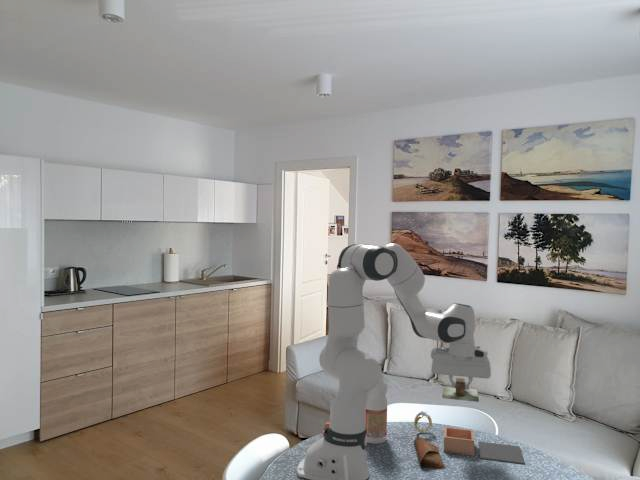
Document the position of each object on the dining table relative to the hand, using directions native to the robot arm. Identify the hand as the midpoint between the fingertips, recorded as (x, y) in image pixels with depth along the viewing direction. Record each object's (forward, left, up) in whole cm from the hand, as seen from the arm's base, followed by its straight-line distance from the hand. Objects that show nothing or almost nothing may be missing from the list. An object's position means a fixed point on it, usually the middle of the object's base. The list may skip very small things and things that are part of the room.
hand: (460, 388), depth 176 cm
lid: (0, 0, -2) cm, 2 cm away
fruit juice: (-30, -2, -21) cm, 37 cm away
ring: (-13, +10, -21) cm, 27 cm away
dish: (0, 0, -21) cm, 21 cm away
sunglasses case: (-10, -11, -22) cm, 26 cm away
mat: (+14, 0, -21) cm, 25 cm away
